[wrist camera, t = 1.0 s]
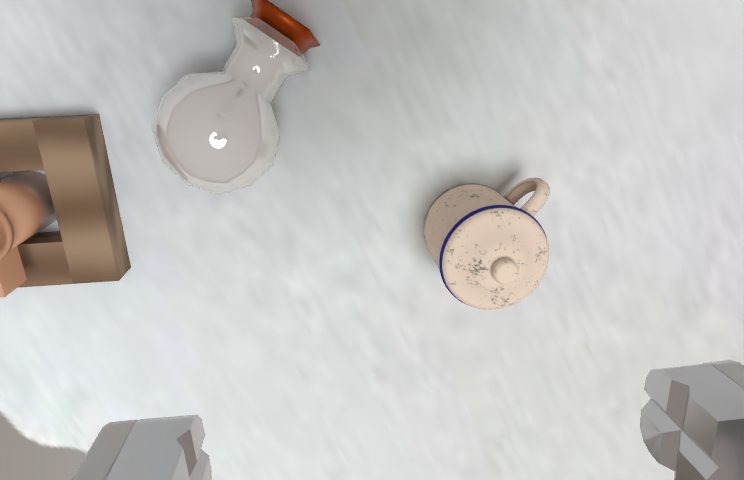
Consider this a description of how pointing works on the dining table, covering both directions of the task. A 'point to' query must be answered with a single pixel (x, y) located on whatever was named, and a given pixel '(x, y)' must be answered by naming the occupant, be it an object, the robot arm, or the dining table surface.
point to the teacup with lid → (489, 243)
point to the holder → (68, 199)
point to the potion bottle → (233, 105)
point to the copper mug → (21, 222)
